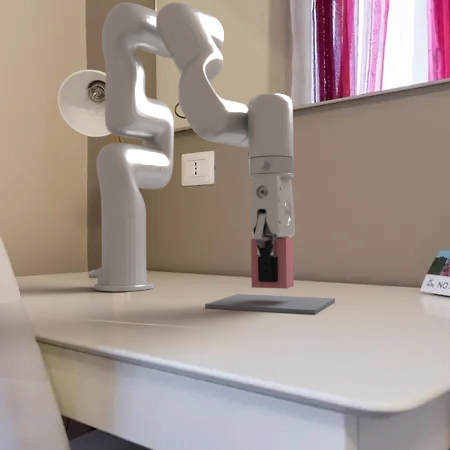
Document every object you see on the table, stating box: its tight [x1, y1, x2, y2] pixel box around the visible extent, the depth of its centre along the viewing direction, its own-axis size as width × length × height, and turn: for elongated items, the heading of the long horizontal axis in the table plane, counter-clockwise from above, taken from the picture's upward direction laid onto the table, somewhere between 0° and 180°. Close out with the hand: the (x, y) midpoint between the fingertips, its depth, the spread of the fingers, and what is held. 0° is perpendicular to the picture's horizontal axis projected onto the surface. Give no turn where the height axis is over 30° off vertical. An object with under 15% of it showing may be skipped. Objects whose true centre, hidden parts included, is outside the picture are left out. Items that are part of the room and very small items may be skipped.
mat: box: [204, 293, 336, 315], centre depth 88 cm, size 18×14×1 cm
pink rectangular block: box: [250, 237, 295, 290], centre depth 88 cm, size 4×6×8 cm, turn 66°
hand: (272, 279), depth 88 cm, fingers closed on pink rectangular block, 4 cm apart
